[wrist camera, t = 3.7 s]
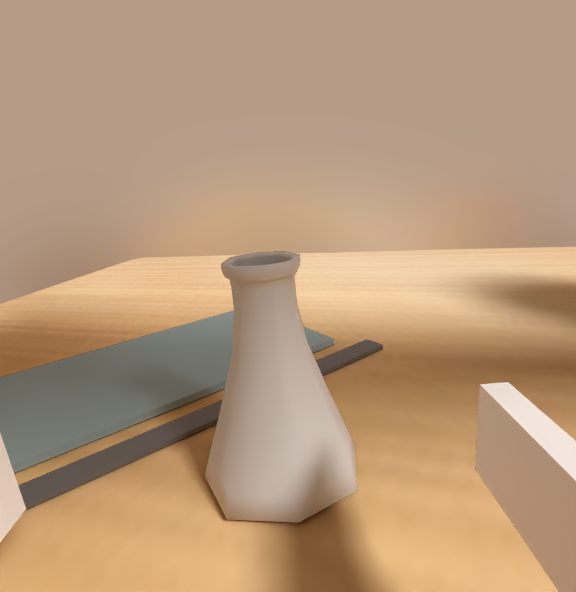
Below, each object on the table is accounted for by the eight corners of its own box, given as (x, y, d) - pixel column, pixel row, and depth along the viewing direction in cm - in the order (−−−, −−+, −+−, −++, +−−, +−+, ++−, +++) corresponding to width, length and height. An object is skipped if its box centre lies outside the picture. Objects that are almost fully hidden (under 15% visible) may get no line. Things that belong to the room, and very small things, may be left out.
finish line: (366, 342, 31) (366, 339, 31) (382, 348, 30) (382, 345, 30) (-191, 580, 15) (-195, 574, 15) (-209, 615, 13) (-213, 609, 13)
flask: (204, 550, 15) (156, 293, 12) (206, 434, 21) (176, 254, 19) (386, 508, 16) (383, 264, 13) (333, 410, 23) (323, 237, 20)
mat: (250, 310, 42) (250, 305, 41) (333, 344, 31) (333, 338, 31) (-69, 403, 27) (-72, 397, 27) (-109, 522, 17) (-113, 513, 17)
